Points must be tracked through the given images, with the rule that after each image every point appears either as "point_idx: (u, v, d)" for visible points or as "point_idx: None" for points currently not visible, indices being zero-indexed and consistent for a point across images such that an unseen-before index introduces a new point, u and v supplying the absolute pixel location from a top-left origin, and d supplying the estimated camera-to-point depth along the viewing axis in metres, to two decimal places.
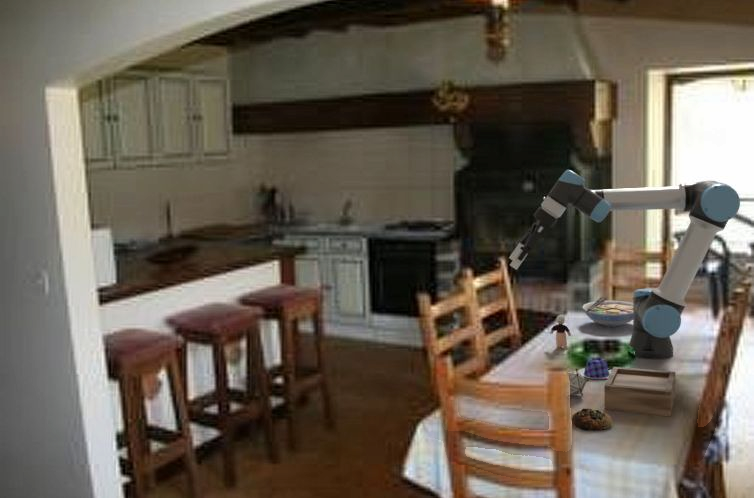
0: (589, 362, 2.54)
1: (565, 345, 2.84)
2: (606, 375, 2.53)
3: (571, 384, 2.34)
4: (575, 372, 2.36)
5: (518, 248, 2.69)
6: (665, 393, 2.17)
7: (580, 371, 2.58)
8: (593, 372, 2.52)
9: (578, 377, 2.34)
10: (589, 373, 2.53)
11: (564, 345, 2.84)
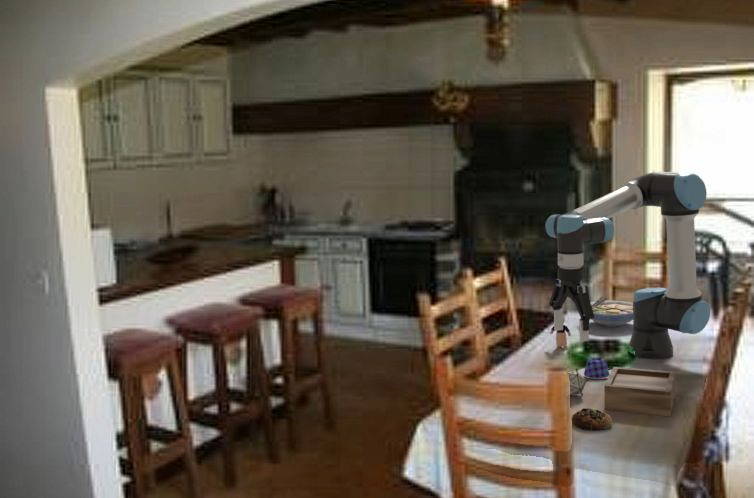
0: (589, 362, 2.54)
1: (565, 345, 2.84)
2: (606, 375, 2.52)
3: (571, 384, 2.34)
4: (575, 372, 2.37)
5: (557, 316, 2.40)
6: (665, 393, 2.17)
7: (580, 371, 2.58)
8: (592, 372, 2.53)
9: (578, 377, 2.34)
10: (589, 373, 2.54)
11: (564, 345, 2.84)
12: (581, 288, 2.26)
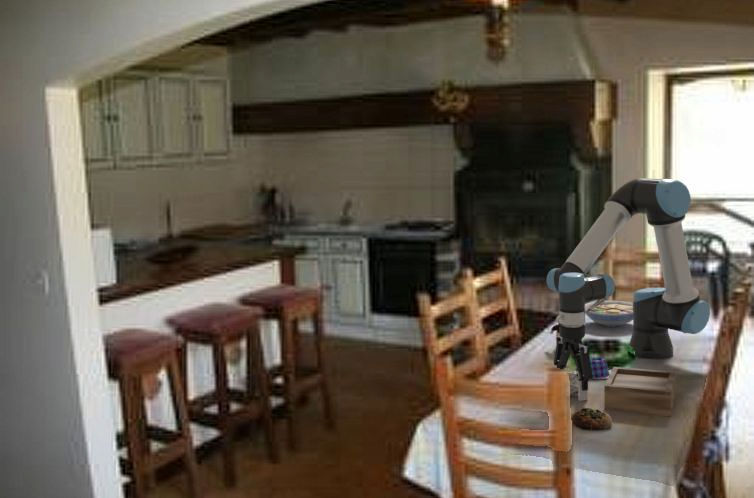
0: None
1: None
2: (605, 375, 2.52)
3: (571, 384, 2.34)
4: (575, 372, 2.36)
5: None
6: (665, 393, 2.17)
7: None
8: (592, 372, 2.53)
9: (578, 377, 2.34)
10: None
11: None
12: (583, 349, 2.28)
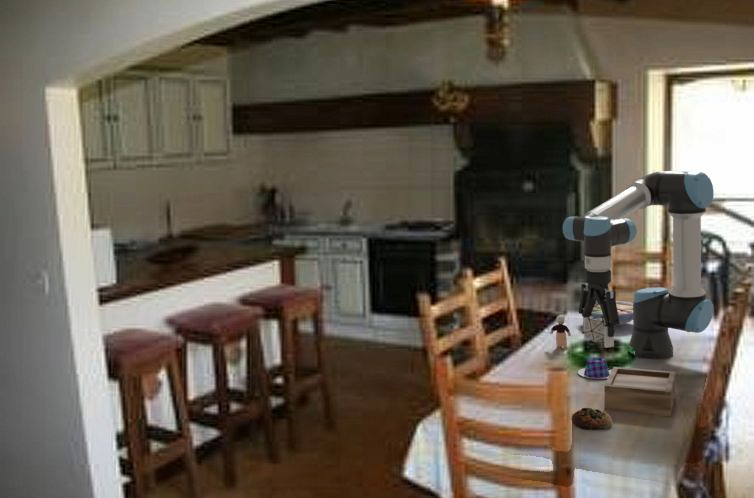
0: (588, 362, 2.54)
1: (565, 345, 2.84)
2: (605, 375, 2.52)
3: (596, 331, 2.28)
4: (601, 319, 2.31)
5: (587, 323, 2.35)
6: (665, 393, 2.17)
7: (581, 370, 2.59)
8: (591, 371, 2.53)
9: (604, 324, 2.28)
10: (588, 373, 2.54)
11: (564, 345, 2.84)
12: (609, 294, 2.22)
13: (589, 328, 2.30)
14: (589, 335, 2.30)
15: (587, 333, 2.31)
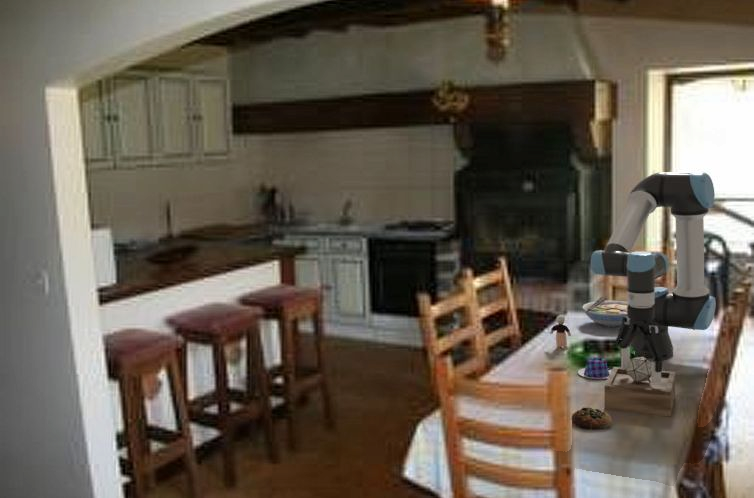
0: (588, 361, 2.55)
1: (565, 345, 2.84)
2: (604, 376, 2.52)
3: (639, 370, 2.25)
4: (643, 358, 2.27)
5: (624, 354, 2.33)
6: (665, 393, 2.17)
7: (582, 370, 2.59)
8: (590, 371, 2.53)
9: (646, 363, 2.25)
10: (587, 372, 2.54)
11: (564, 345, 2.84)
12: (654, 328, 2.19)
13: (631, 367, 2.27)
14: (631, 374, 2.27)
15: (629, 372, 2.28)
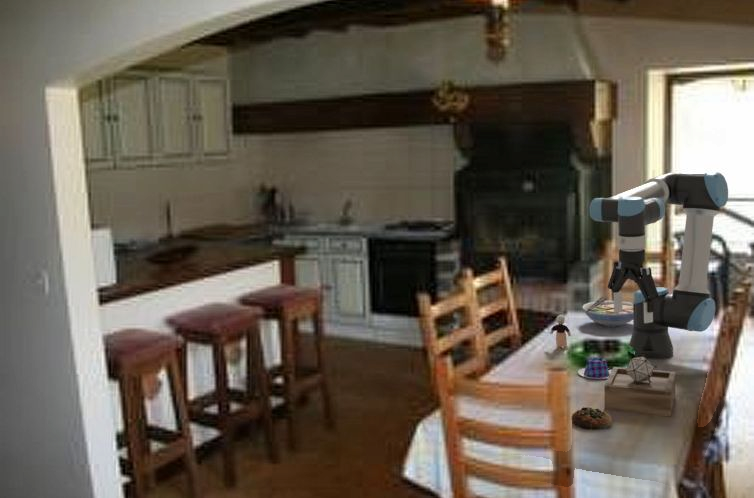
0: (588, 361, 2.55)
1: (565, 345, 2.84)
2: (603, 376, 2.52)
3: (639, 370, 2.25)
4: (643, 358, 2.27)
5: (617, 298, 2.40)
6: (665, 393, 2.17)
7: (582, 370, 2.60)
8: (590, 371, 2.53)
9: (646, 363, 2.25)
10: (587, 372, 2.54)
11: (564, 345, 2.84)
12: (645, 270, 2.26)
13: (631, 367, 2.27)
14: (631, 374, 2.27)
15: (629, 372, 2.28)
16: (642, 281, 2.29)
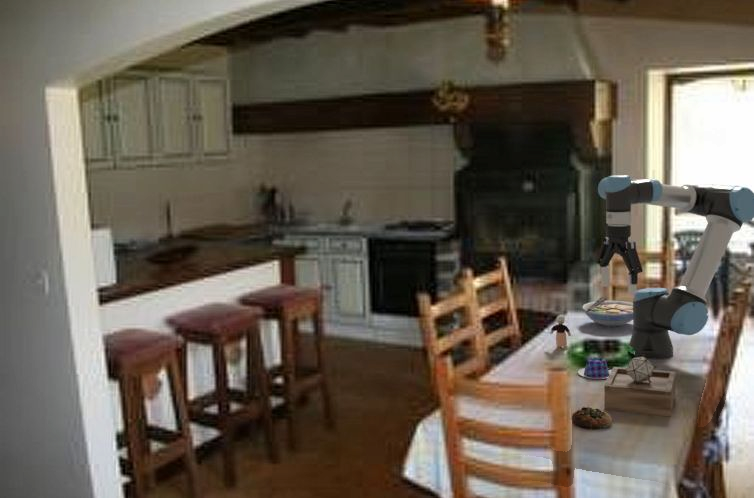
0: (588, 361, 2.55)
1: (565, 345, 2.84)
2: (603, 376, 2.52)
3: (639, 370, 2.25)
4: (643, 358, 2.27)
5: (604, 272, 2.53)
6: (665, 393, 2.17)
7: (583, 369, 2.60)
8: (589, 371, 2.53)
9: (646, 363, 2.25)
10: (586, 372, 2.55)
11: (564, 345, 2.84)
12: (630, 244, 2.39)
13: (631, 367, 2.27)
14: (631, 374, 2.27)
15: (629, 372, 2.28)
16: (627, 255, 2.42)
